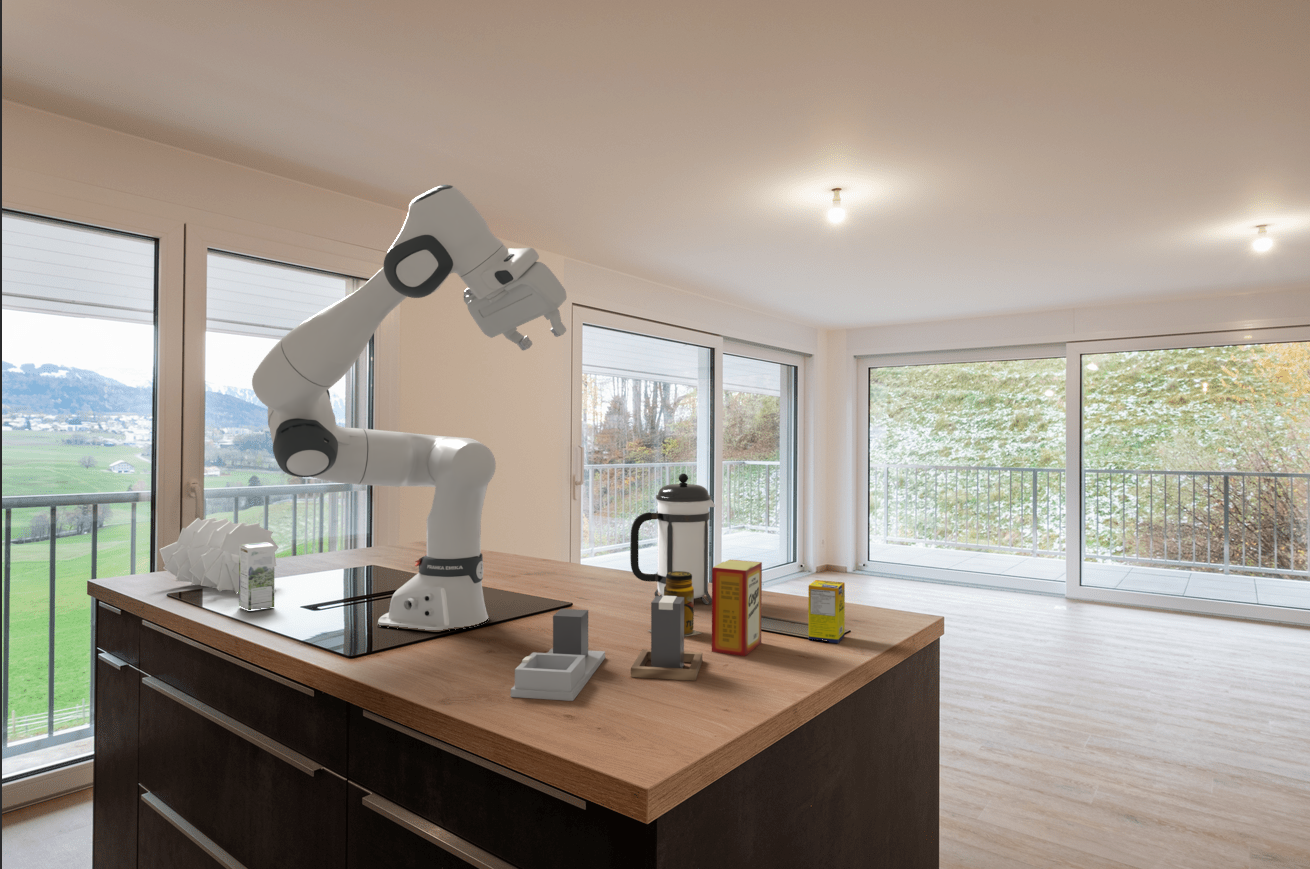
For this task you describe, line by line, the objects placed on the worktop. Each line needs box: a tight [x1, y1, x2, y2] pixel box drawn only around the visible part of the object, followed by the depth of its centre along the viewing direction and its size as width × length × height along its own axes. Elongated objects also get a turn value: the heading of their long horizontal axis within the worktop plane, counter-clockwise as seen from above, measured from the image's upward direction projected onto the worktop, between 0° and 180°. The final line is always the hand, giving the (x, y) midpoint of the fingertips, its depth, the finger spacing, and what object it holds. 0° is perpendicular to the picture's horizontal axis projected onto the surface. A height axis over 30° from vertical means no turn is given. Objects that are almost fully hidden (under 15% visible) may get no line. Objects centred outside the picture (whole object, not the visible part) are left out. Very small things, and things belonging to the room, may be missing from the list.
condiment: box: [647, 571, 702, 637], centre depth 162 cm, size 7×8×12 cm
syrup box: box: [238, 542, 276, 610], centre depth 181 cm, size 6×6×14 cm
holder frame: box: [630, 648, 703, 682], centre depth 139 cm, size 11×11×2 cm
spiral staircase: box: [158, 516, 279, 593], centre depth 201 cm, size 18×18×25 cm
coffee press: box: [629, 473, 716, 605], centre depth 189 cm, size 17×16×30 cm
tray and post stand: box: [510, 608, 606, 702], centre depth 135 cm, size 22×10×9 cm, turn 171°
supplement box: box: [807, 579, 846, 644], centre depth 158 cm, size 6×6×11 cm
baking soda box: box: [711, 559, 763, 657], centre depth 152 cm, size 10×6×16 cm
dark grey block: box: [650, 595, 685, 669], centre depth 139 cm, size 5×5×12 cm
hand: (544, 341), depth 137 cm, fingers open, 8 cm apart
